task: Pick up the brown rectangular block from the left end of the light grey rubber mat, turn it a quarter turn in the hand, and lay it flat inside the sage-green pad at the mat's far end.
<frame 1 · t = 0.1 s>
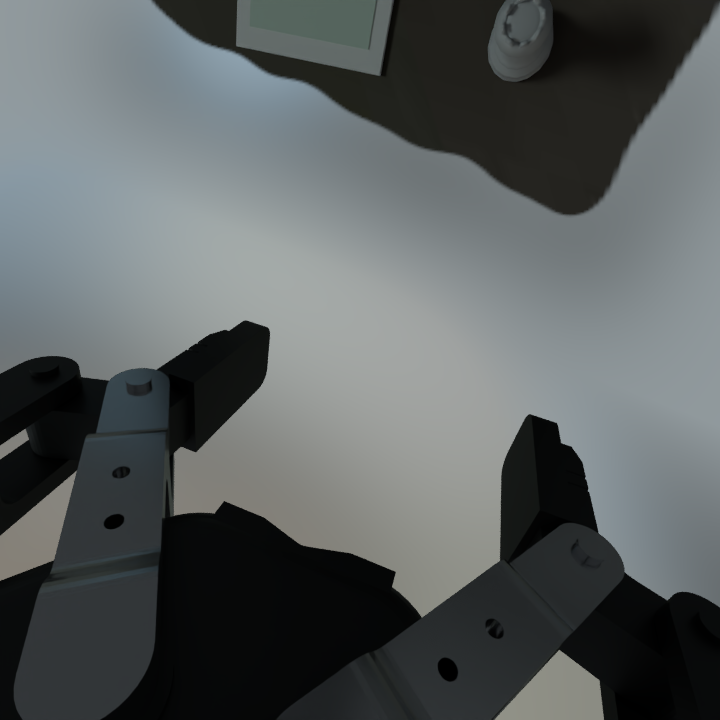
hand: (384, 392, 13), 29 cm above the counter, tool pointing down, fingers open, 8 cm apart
rook chess piece: (519, 46, 31), on the counter
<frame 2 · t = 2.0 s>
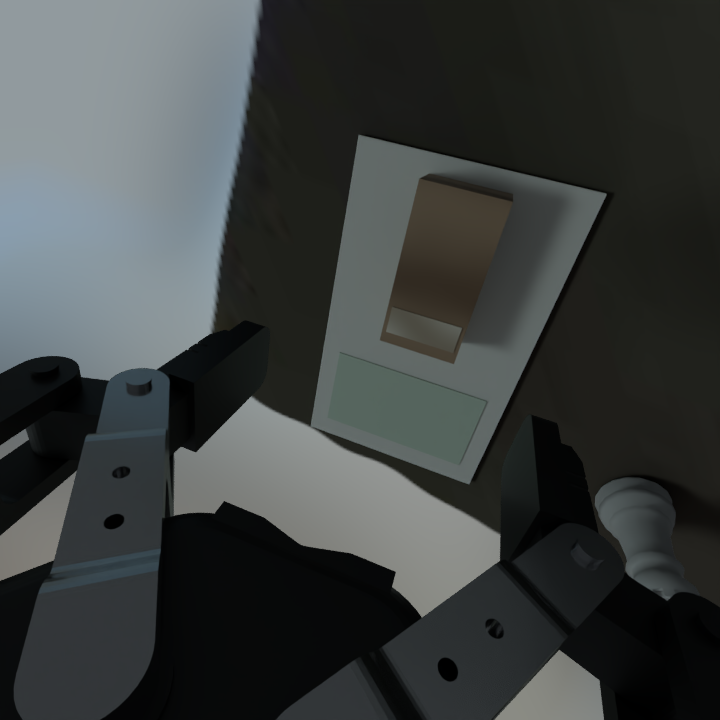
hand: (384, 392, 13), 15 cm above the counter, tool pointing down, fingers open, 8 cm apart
brown rectangular block: (445, 264, 24), resting on grey mat
rook chess piece: (629, 496, 28), on the counter
grey mat: (423, 335, 27), on the counter
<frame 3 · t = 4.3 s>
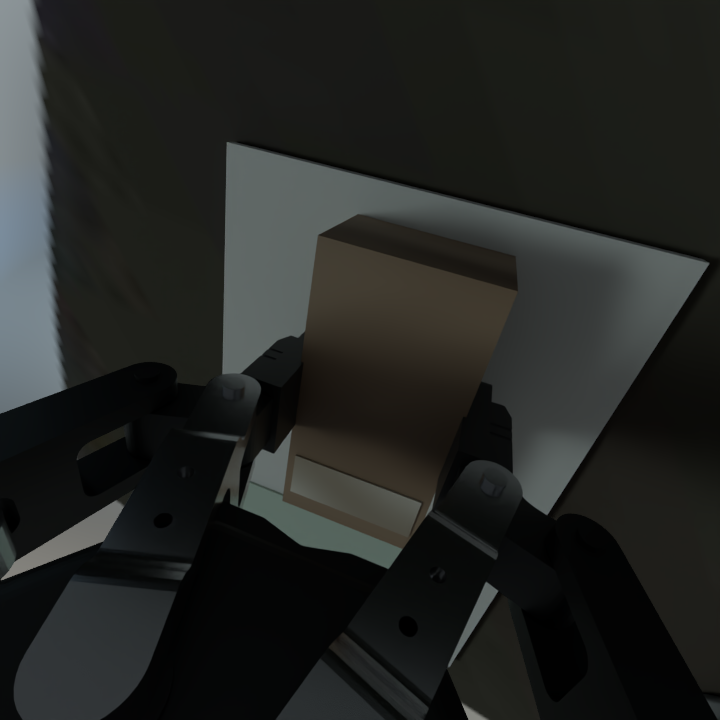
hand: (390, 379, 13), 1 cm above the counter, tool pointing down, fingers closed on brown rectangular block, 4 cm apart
brown rectangular block: (396, 369, 14), resting on grey mat, touching gripper
rook chess piece: (702, 714, 18), on the counter
grey mat: (370, 467, 17), on the counter
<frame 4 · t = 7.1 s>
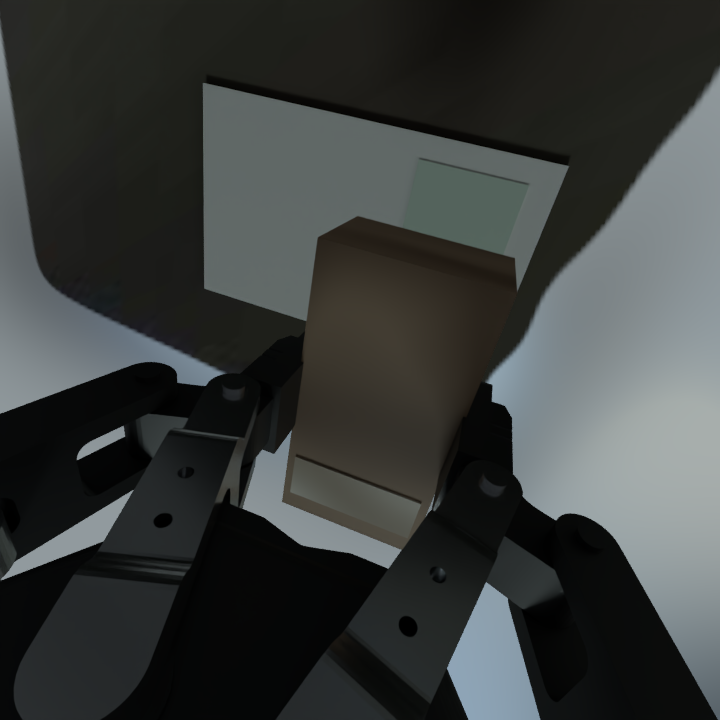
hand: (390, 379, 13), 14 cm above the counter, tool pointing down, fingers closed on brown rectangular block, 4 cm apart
brown rectangular block: (396, 370, 14), point 14 cm above the counter, touching gripper
grey mat: (353, 237, 26), on the counter
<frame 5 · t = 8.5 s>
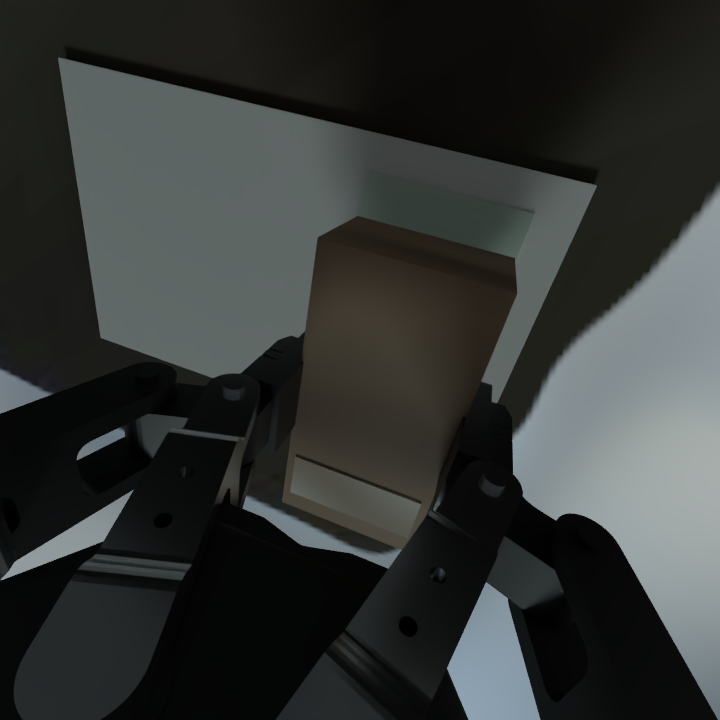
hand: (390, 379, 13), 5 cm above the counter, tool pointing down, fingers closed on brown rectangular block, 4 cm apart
brown rectangular block: (396, 370, 14), point 5 cm above the counter, touching gripper
grey mat: (285, 279, 19), on the counter
when the fingers open (3 cm above the counter, at t = 9.9 s): brown rectangular block drops 2 cm, resting on grey mat.
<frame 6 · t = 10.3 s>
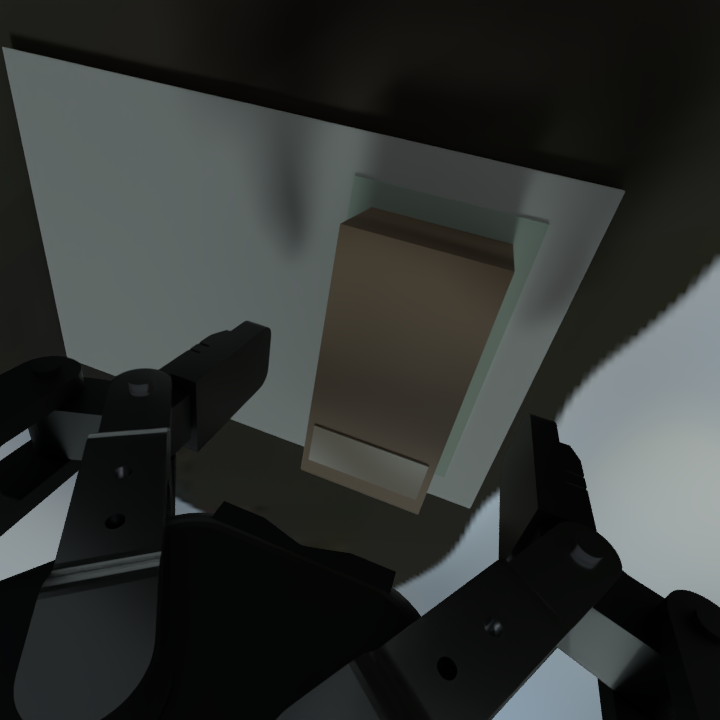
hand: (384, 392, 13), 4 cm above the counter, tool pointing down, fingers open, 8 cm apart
brown rectangular block: (405, 349, 15), resting on grey mat
grey mat: (264, 297, 17), on the counter
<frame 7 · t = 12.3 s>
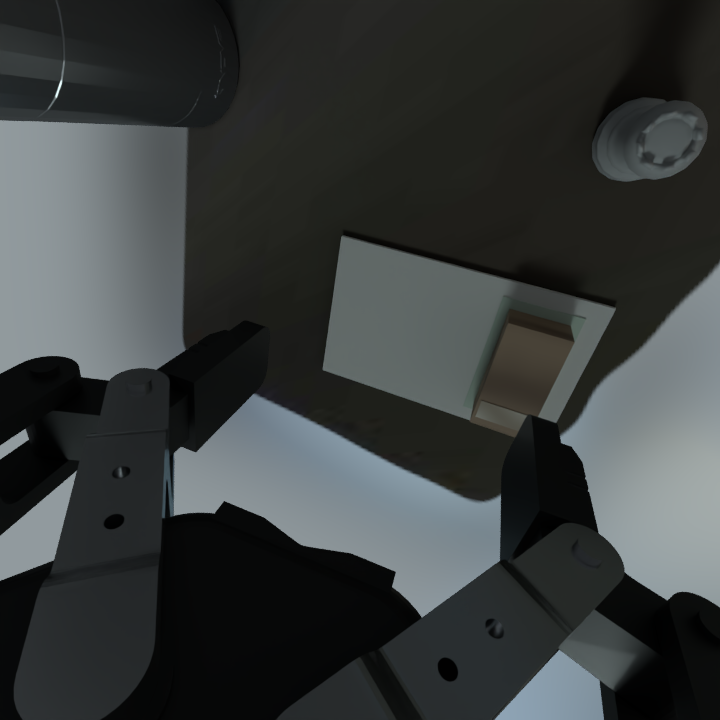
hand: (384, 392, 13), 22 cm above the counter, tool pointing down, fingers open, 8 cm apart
brown rectangular block: (518, 367, 34), resting on grey mat
rook chess piece: (631, 141, 26), on the counter
grey mat: (446, 342, 35), on the counter
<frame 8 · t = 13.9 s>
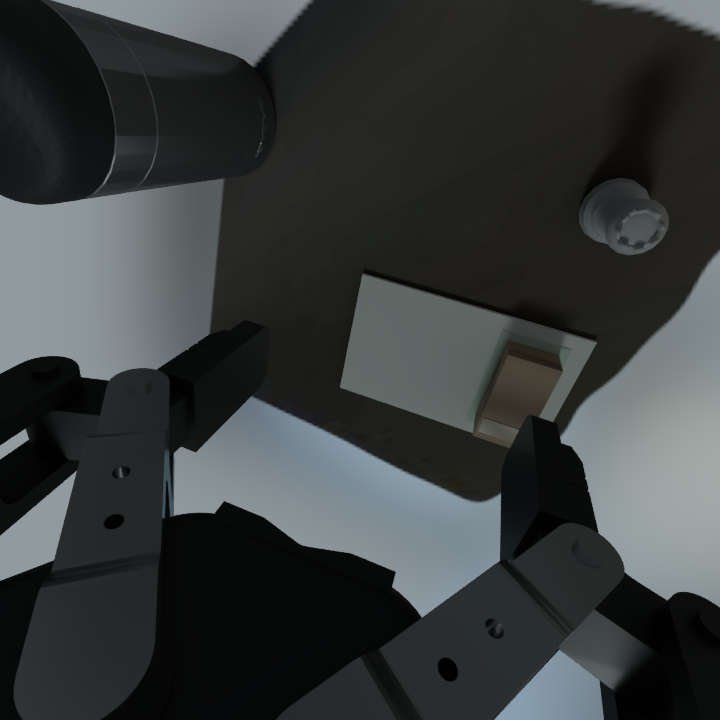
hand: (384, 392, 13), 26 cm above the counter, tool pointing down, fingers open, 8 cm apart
brown rectangular block: (514, 388, 39), resting on grey mat
rook chess piece: (610, 209, 31), on the counter
grey mat: (452, 365, 40), on the counter
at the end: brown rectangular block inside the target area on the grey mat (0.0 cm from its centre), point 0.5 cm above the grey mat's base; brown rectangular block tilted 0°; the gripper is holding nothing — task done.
